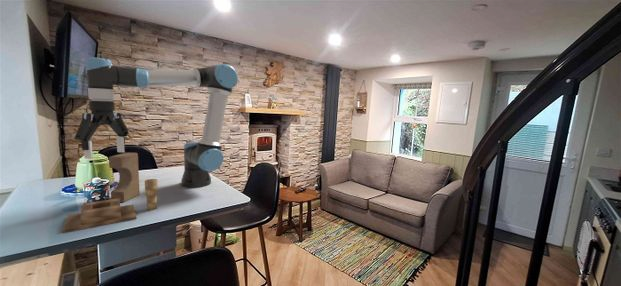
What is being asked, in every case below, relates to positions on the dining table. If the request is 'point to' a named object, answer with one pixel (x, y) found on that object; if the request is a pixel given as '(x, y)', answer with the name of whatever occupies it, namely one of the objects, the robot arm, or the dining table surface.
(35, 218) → the dining table surface
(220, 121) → the robot arm
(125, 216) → the board
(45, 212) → the dining table surface
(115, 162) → the decorative block
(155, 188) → the peg
